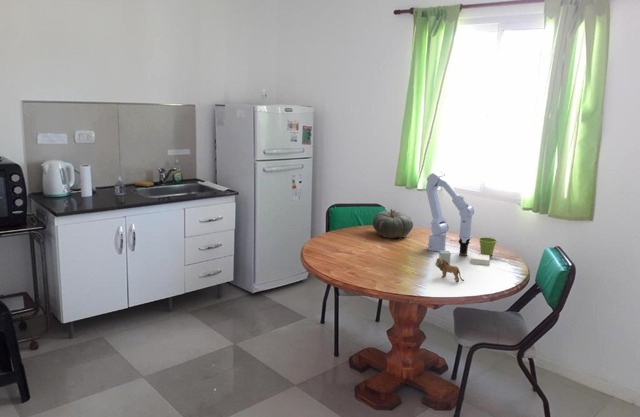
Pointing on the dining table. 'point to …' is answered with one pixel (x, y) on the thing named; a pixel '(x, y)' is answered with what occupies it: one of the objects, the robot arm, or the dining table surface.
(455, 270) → the lion figurine
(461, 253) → the walnut block
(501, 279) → the dining table surface
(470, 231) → the robot arm
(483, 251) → the plant pot
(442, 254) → the grey cube
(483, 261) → the cream block
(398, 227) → the gourd
